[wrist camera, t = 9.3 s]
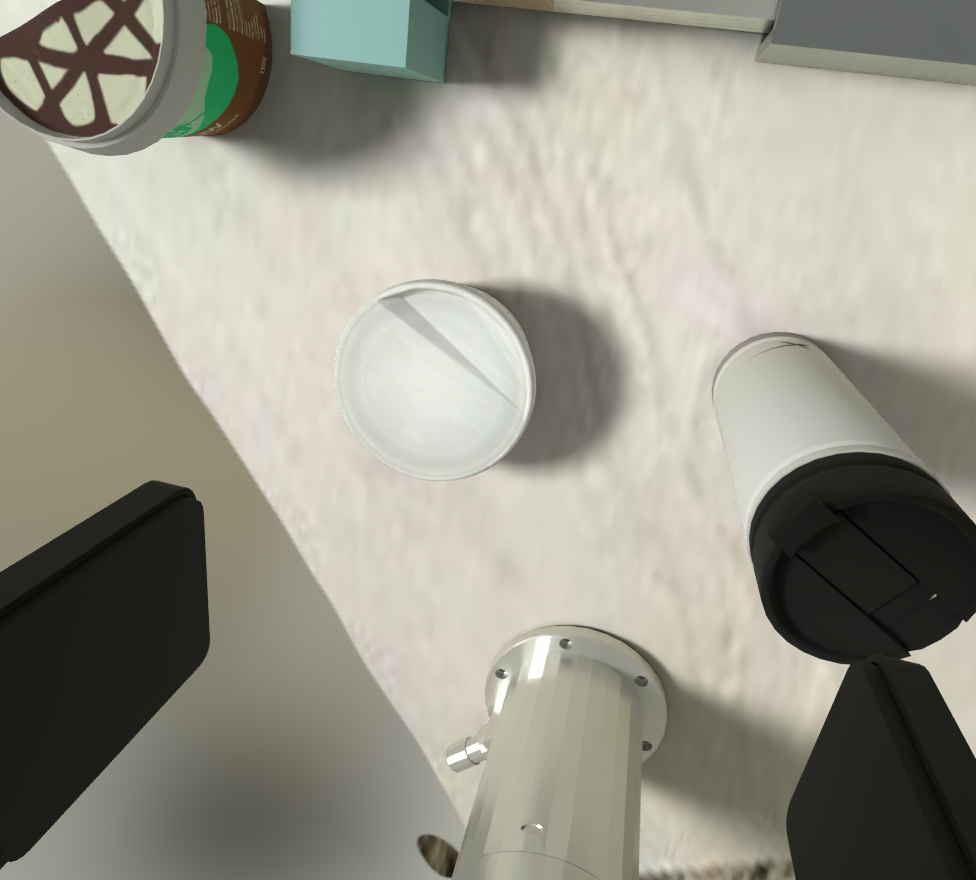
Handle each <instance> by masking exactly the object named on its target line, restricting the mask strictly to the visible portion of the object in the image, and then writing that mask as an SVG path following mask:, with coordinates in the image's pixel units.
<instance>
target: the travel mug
mask: <svg viewBox="0 0 976 880" xmlns="http://www.w3.org/2000/svg"><path fill="white" fill-rule="evenodd" d="M712 397H713V404H714V408H715V412H716V417H717V421H718V425H719V430H720V434H721V438H722V442H723V447H724V451H725V455H726V460H727V464H728V468H729V472H730V477H731V481H732V485H733V490H734V494H735V498H736V503H737V507H738V511H739V515H740V520H741V524H742V528H743V533H744V537H745V541H746V544H747V550H748V554H749V557H750V560H751V563H752V566H753V568H754V572H755V576H756V580H757V584H758V588H759V593H760V597H761V601H762V604H763V607H764V610H765V613H766V616H767V618H768V619H769V621H770V622H771V624H772V625H773V627H774V629H775V630H776V631H777V632H778V633H779V634H780V635H781V636H782V637H783V638H784V639H785V640H786V641H787V642H789V643H790V644H792V645H793V646H795V647H796V648H798V649H799V650H801V651H803V652H805V653H807V654H810V655H812V656H814V657H817V658H819V659H823V660H827V661H831V662H835V663H839V664H850V665H851V664H852V663H853V662H854V661H860V662H865V661H866V659H867V658H868V657H869V656H870V655H872V654H879V655H883V656H887V657H891V658H896V659H902V658H906V657H909V656H911V655H910V653H909V652H908V651H913V650H919V649H923V648H925V647H927V646H929V645H931V644H933V643H935V642H937V641H939V640H941V639H942V638H944V637H945V636H946V635H948V634H949V633H951V632H952V631H953V630H955V629H956V628H958V626H959V625H960V623H961V621H962V620H964V621H965V622H967V621H968V620H969V619H970V618H971V617H972V616H973V615H974V614H975V612H976V525H975V523H974V522H973V521H972V520H971V519H970V518H969V517H968V515H967V514H966V513H965V512H964V511H963V510H962V509H961V508H960V506H959V505H958V504H957V503H956V502H955V501H954V500H953V499H952V497H951V495H950V493H949V492H948V490H947V489H946V488H945V487H944V486H943V484H942V483H941V482H940V481H939V480H938V479H937V478H936V476H935V475H934V474H933V473H932V472H931V471H930V470H929V469H928V468H927V466H926V465H925V464H924V463H923V462H922V461H921V460H920V459H919V458H918V456H917V455H916V454H915V453H914V452H913V451H912V450H911V449H910V448H909V446H908V445H907V444H906V443H905V442H904V441H903V440H902V439H901V437H900V436H899V435H898V434H897V433H896V432H895V431H894V430H893V429H892V427H891V426H890V425H889V424H888V423H887V422H886V421H885V420H884V419H883V417H882V416H881V415H880V414H879V413H878V412H877V411H876V410H875V409H874V407H873V406H872V405H871V404H870V403H869V402H868V401H867V400H866V398H865V397H864V396H863V395H862V394H861V393H860V392H859V391H858V390H857V388H856V387H855V386H854V385H853V384H852V383H851V382H850V381H849V380H848V378H847V377H846V376H845V375H844V374H843V373H842V372H841V371H840V370H839V368H838V367H837V366H836V365H835V364H834V363H833V362H832V361H831V360H830V358H829V357H828V356H827V355H826V354H825V353H824V352H823V351H822V349H821V348H820V347H818V346H817V345H816V344H814V343H813V342H812V341H810V340H808V339H806V338H804V337H801V336H799V335H795V334H790V333H779V332H774V333H767V334H761V335H758V336H755V337H752V338H750V339H748V340H746V341H744V342H742V343H740V344H739V345H738V346H736V347H735V348H734V349H732V350H731V351H730V352H729V353H728V354H727V356H726V357H725V358H724V359H723V360H722V362H721V364H720V365H719V367H718V369H717V371H716V374H715V377H714V379H713V386H712Z"/></svg>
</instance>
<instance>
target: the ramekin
mask: <svg viewBox="0 0 976 880" xmlns="http://www.w3.org/2000/svg"><path fill="white" fill-rule="evenodd" d="M334 383H335V391H336V396H337V400H338V403H339V406H340V410H341V412H342V415H343V417H344V419H345V421H346V423H347V425H348V427H349V428H350V430H351V432H352V434H353V435H354V436H355V437H356V438H357V439H358V441H359V442H360V443H361V445H363V447H364V448H365V449H366V450H367V451H368V452H370V453H371V454H372V455H373V456H374V457H375V458H377V459H378V460H379V461H381V462H382V463H384V464H385V465H387V466H389V467H390V468H392V469H394V470H396V471H398V472H400V473H402V474H404V475H407V476H411V477H415V478H417V479H421V480H428V481H452V480H459V479H464V478H468V477H471V476H474V475H476V474H479V473H481V472H483V471H485V470H487V469H489V468H491V467H492V466H494V465H495V464H497V463H498V462H499V461H500V460H502V459H503V458H504V457H505V456H506V455H507V454H508V453H509V452H510V451H511V450H512V449H513V447H514V446H515V445H516V444H517V442H518V441H519V439H520V438H521V436H522V435H523V433H524V431H525V430H526V428H527V426H528V423H529V421H530V418H531V415H532V412H533V408H534V404H535V397H536V374H535V368H534V363H533V359H532V355H531V352H530V349H529V343H528V341H527V339H526V336H525V333H524V332H523V330H522V328H521V326H520V324H519V323H518V322H517V321H516V319H515V318H514V316H513V315H512V313H511V312H509V311H508V310H507V308H506V307H505V306H504V305H502V304H501V303H499V302H498V301H497V300H496V299H495V298H493V297H491V296H489V295H488V294H487V293H485V292H482V291H479V290H478V289H476V288H472V287H468V286H466V285H462V284H459V283H455V282H450V281H445V280H436V279H423V280H414V281H409V282H405V283H401V284H398V285H395V286H393V287H390V288H388V289H386V290H384V291H382V292H380V293H379V294H377V295H376V296H374V297H373V298H371V299H370V300H368V301H367V302H366V303H365V304H364V305H363V306H362V307H361V308H360V309H359V310H358V311H357V312H356V313H355V314H354V316H353V317H352V318H351V320H350V321H349V323H348V325H347V326H346V328H345V330H344V332H343V334H342V336H341V339H340V341H339V344H338V348H337V352H336V358H335V366H334Z"/></svg>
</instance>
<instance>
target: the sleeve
mask: <svg viewBox="0 0 976 880" xmlns="http://www.w3.org/2000/svg"><path fill="white" fill-rule="evenodd" d="M755 61H756V62H765V63H774V64H783V65H792V66H801V67H810V68H819V69H829V70H838V71H847V72H856V73H865V74H874V75H883V76H892V77H902V78H911V79H920V80H929V81H938V82H947V83H956V84H965V85H975V86H976V0H780V4H779V8H778V12H777V16H776V20H775V24H774V27H773V30H772V31H771V32H770V34H768V33H762V35H761V39H760V43H759V47H758V51H757V55H756V59H755Z"/></svg>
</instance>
